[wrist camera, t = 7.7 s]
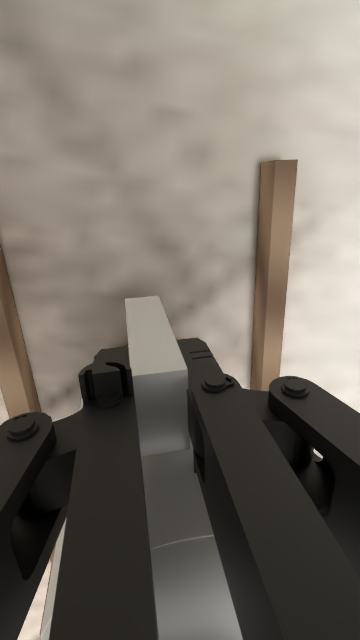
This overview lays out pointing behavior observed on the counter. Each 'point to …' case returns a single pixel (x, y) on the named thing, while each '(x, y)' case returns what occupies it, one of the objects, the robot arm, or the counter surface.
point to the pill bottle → (176, 555)
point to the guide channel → (270, 298)
